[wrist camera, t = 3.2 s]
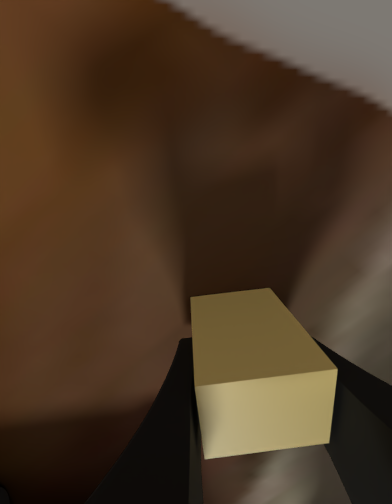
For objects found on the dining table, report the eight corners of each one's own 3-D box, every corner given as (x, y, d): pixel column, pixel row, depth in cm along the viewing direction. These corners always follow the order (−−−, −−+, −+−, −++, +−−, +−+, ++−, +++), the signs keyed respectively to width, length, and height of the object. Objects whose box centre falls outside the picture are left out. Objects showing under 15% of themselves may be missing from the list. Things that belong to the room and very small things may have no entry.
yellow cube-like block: (269, 287, 11) (338, 369, 6) (269, 366, 12) (324, 482, 7) (190, 297, 11) (194, 386, 6) (200, 375, 12) (210, 497, 7)
